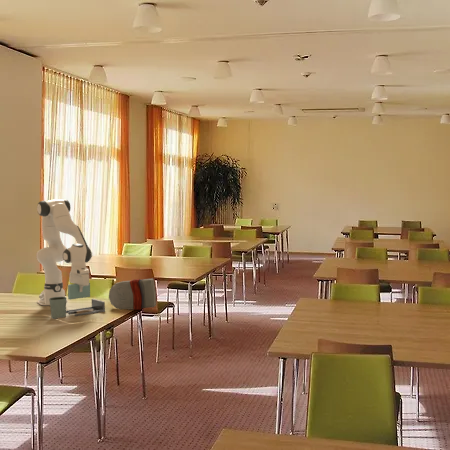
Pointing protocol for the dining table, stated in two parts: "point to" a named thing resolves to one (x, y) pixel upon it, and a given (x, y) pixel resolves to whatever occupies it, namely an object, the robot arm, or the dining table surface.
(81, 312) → the offcut walnut
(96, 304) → the offcut rack
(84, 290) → the teal sheet
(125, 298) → the decorative stone tablet
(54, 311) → the grey-green bin
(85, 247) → the robot arm
